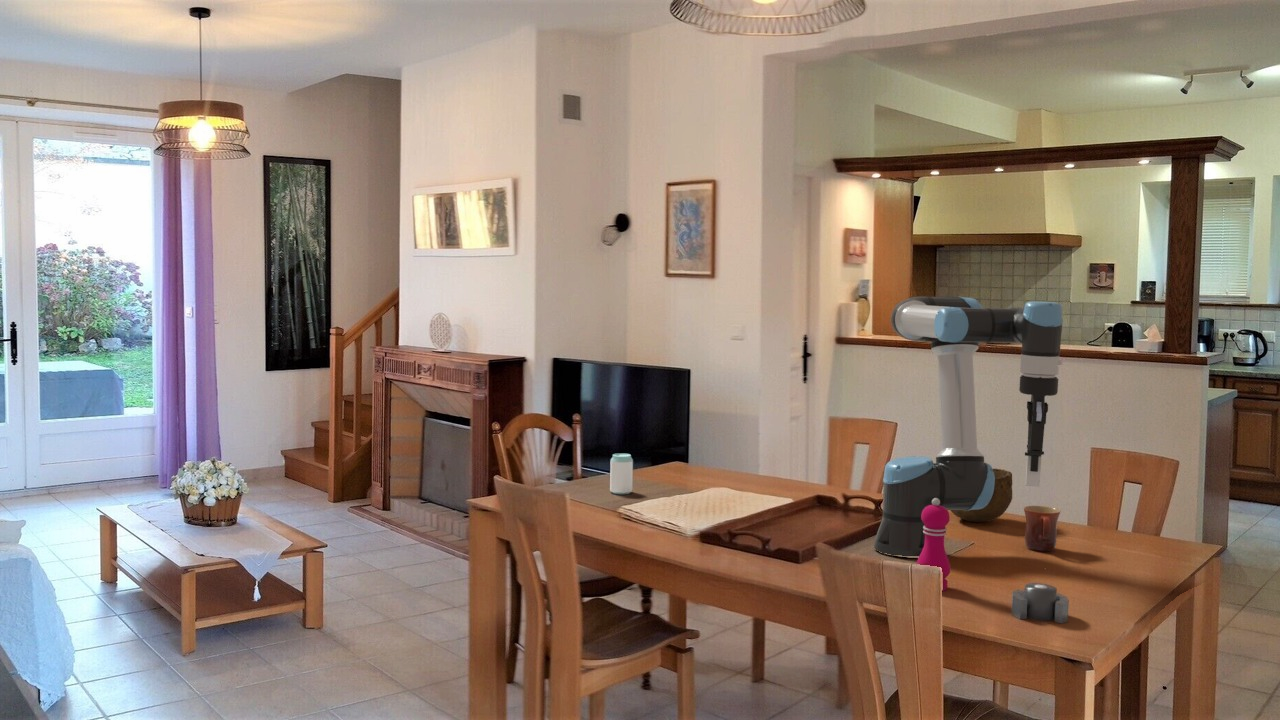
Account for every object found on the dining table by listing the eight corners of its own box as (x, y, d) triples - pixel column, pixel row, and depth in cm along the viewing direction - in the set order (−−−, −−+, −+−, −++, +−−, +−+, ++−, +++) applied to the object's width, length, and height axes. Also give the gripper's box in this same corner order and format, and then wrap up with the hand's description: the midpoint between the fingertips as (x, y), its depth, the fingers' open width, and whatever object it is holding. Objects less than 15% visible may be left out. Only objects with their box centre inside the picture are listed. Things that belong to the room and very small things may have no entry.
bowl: (1018, 520, 294) (1020, 468, 293) (1002, 532, 279) (1004, 478, 277) (952, 511, 304) (954, 461, 303) (933, 523, 289) (935, 470, 287)
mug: (1019, 543, 267) (1021, 504, 266) (1054, 545, 265) (1056, 506, 265) (1027, 555, 255) (1028, 514, 255) (1064, 558, 254) (1066, 517, 253)
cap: (1024, 619, 206) (1026, 589, 206) (1022, 610, 212) (1023, 580, 211) (1056, 622, 204) (1058, 592, 204) (1053, 613, 210) (1055, 583, 210)
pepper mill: (910, 582, 230) (914, 494, 228) (942, 582, 231) (945, 494, 229) (922, 592, 223) (926, 501, 221) (954, 592, 223) (958, 501, 222)
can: (607, 494, 320) (608, 456, 319) (612, 489, 327) (612, 452, 326) (630, 495, 318) (630, 457, 318) (634, 491, 325) (634, 453, 324)
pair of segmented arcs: (1012, 618, 206) (1013, 599, 206) (1010, 607, 213) (1011, 588, 213) (1069, 624, 203) (1070, 604, 203) (1064, 613, 210) (1066, 594, 210)
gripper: (1061, 379, 208) (1054, 493, 211) (1055, 372, 221) (1048, 480, 223) (1022, 377, 211) (1015, 490, 213) (1018, 371, 223) (1012, 477, 225)
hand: (1032, 485), depth 218 cm, fingers closed
